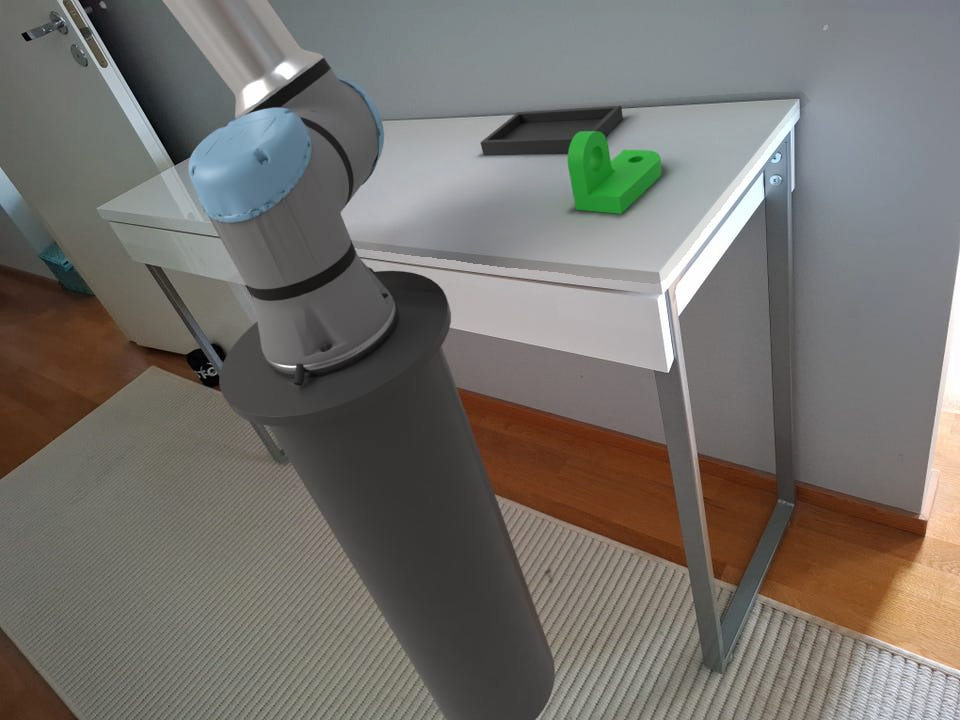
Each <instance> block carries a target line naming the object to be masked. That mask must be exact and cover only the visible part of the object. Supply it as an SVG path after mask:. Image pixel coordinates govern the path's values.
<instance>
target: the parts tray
mask: <svg viewBox="0 0 960 720" xmlns="http://www.w3.org/2000/svg"><path fill="white" fill-rule="evenodd" d="M623 120H624V116H623V107H622V105H610V106H595V107H594V106H593V107H580V108H562V109H548V110H545V109H544V110H532V111H518V112H517V113H515V114H514V115H513V116H511V117H510V118H509V119H507V120H506V121H505V122H504V123H502V124H501V125H500V126H499V127H498V128H497V129H495V130H493V132H492V133H490V134H489V135H487V136H486V137H485V138H484V139H482V141H480V146H481V151H482V154H483V156H498V155H499V156H502V155H504V156H505V155H506V156H507V155H544V154H545V155H549V154H568V151H569V147H570V144H571V141H572V139H573V137H574V136H575V135H576V134H577V133H578V132H581V131H599V132H601V133H603V134H604V136H605V137H607V136H608V135H609V134H610V133H611V132H612V131H613V130H614V129H615V128H616V127H617V126H618V125H619V124H620V123H621V122H622V121H623Z"/></svg>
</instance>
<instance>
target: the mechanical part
mask: <svg viewBox="0 0 960 720" xmlns="http://www.w3.org/2000/svg"><path fill="white" fill-rule="evenodd" d="M606 137H607V136H606ZM606 137H605V136H604V134H603V133H601V132H599V131H581V132H578V133H577V134H576V135H575V136H574V137H573V139H572V141H571V144H570V147H569V151H568V153H567V167H568V173H569V178H570V184H571V188H572V189H571V190H572V195H573V201H574V207H575V210H577V211H588V212H598V213H609V214H619V215H622V214H624V212H625V211H626V210H628V209H629V207H631V206H632V204H634V203H635V202H636V201H637V200H638V199H639V198H640V197H641V196H642V195H643V194H644V193H645V192H646V191H647V190H648V189H649V188H651V186H652V185H653V184H654V183H656V181H657V180H658V179H659V178H660V177H661V176H662V173H663V170H662V162H661V160H662V159H661V154H660V153H659V152H657V151H654V150H650V149H649V150H647V149H623V150H622V151H620V153H619V154H617V155H616V156H615V157H614V158H613V159H611V155H610V146H609V143H608V139H607V138H606Z"/></svg>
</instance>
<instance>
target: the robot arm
mask: <svg viewBox="0 0 960 720" xmlns="http://www.w3.org/2000/svg"><path fill="white" fill-rule="evenodd" d="M161 1H162V2H163V3H164V4H165V5H164V6H166V7H167V8H168V10H169V11H170V13H172V16H174V18H175V19H176V21H177V22H178V23H179V24H180V25H181V27H182V28H183V29H184V31H185V32H186V34H187V35H188V36H189V37H190V39H191V40H192V41H193V42H194V44H195V45H196V46H197V48H198V49H199V51H200V52H201V53H202V54H203V56H204V57H205V58H206V60H207V61H208V62H209V63H210V65H211V66H212V68H214V70H215V72H216V73H217V74H218V75H219V76H220V77H221V79H222V80H223V81H224V83H225V84H226V86H227V87H228V88H229V90H230V91H231V92H232V94H233V95H234V98H235V105H234V106H235V108H234V119H232V120H231V121H229V122H228V123H227V125H226V126H222V127H218V128H217V129H215V130H214V131H212V132H211V133H210V134H209V135H207V136H206V137H205V138H204V139H203V140H201V141H200V143H199V144H198V145H197V146H196V147H195V149H194V150H193V152H192V153H191V155H190V158H189V161H188V167H187V169H188V176H189V179H190V181H191V184H192V185H193V188H194V190H195V192H196V194H197V198H198V202H199V204H200V207H201V208H202V210H203V212H204V214H206V216H207V217H208V218H209V220H210V222H211V224H212V226H213V228H214V229H215V231H216V233H217V235H218V236H219V239H220V240H221V243H222V244H223V246H224V247H225V250H226V251H227V253H228V255H229V257H230V258H231V260H232V262H233V264H234V266H235V267H236V269H237V271H238V273H239V275H240V277H241V278H242V280H243V283H244V285H246V287H247V290H248V291H249V294H250V295H251V297H252V299H253V302H254V309H255V316H256V322H258V328H259V334H260V339H261V341H260V342H261V348H262V352H263V354H264V356H265V358H266V360H267V362H268V363H269V365H270V367H271V368H272V370H274V371H275V372H276V373H277V374H280V375H282V376H285V377H289V378H295V379H294V384H295V385H298V386H302V385H303V382H304V378H313V377H319V376H324V375H327V374H331V373H334V372H337V371H340V370H342V369H345V368H347V367H349V366H351V365H354V364H355V363H357V362H359V361H361V360H363V359H364V358H366V357H367V356H369V355H370V354H372V353H373V352H374V351H376V350H377V349H378V348H379V347H380V346H382V345H383V344H384V343H385V342H386V341H387V339H388V338H389V337H390V336H391V334H392V333H393V331H394V330H395V328H396V326H397V323H398V317H399V315H398V310H397V307H396V305H395V302H394V300H393V297H392V295H391V294H390V293H389V291H388V290H387V289H386V288H385V287H384V286H383V284H382V283H381V282H380V281H379V280H378V279H377V277H376V276H375V275H377V274H376V273H375V272H376V271H375V270H374V269H373V268H372V267H369V266H368V265H366V263H364V261H363V260H362V259H361V258H360V257H359V255H358V252H357V251H356V248H355V246H354V243H353V241H352V238H351V236H350V233H349V231H348V228H347V226H346V223H345V221H344V218H343V216H342V211H343V210H344V209H345V207H346V206H347V205H348V204H349V203H350V201H351V200H352V198H353V197H354V196H355V195H356V193H357V192H358V191H359V189H360V188H361V187H362V186H363V185H364V184H365V183H367V182H368V180H369V179H370V177H371V176H372V175H373V173H374V172H375V170H376V167H377V164H378V163H379V160H380V158H381V156H382V152H383V149H384V144H385V143H384V142H385V129H384V123H383V120H382V116H381V113H380V111H379V109H378V107H377V105H376V102H374V100H373V99H372V97H371V96H370V95H369V94H368V93H367V92H366V91H365V90H364V89H363V88H362V87H361V86H360V85H358V84H356V83H355V82H353V81H349V80H347V79H344V78H343V77H340V76H337V75H336V73H335V72H334V70H333V69H332V67H331V66H330V64H329V63H328V62H327V60H326V59H325V57H324V56H323V55H322V54H321V53H318V52H314V51H310V50H306V49H304V48H302V47H300V46H299V44H298V43H297V41H296V40H295V38H294V37H293V36H292V34H291V32H289V30H288V28H287V27H286V26H285V24H284V23H283V21H282V19H281V18H280V17H279V16H278V14H277V13H276V11H275V9H274V8H273V7H272V5H271V4H270V3H269V1H268V0H161ZM374 274H375V275H374Z"/></svg>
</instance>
